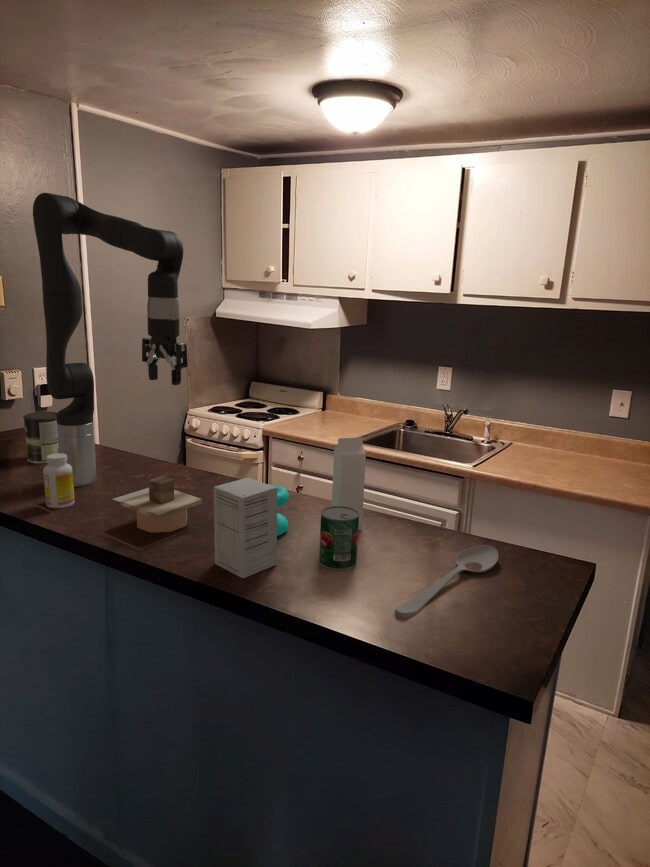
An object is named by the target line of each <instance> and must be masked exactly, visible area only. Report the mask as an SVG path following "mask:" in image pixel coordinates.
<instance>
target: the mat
mask: <svg viewBox="0 0 650 867" xmlns="http://www.w3.org/2000/svg"><path fill="white" fill-rule="evenodd" d="M148 492H149V487H146V488H143V489H140V490H137V491H134V492H130V493H128V494H124V495H121V496H118V497H114V498H112V500H113V501H116V502H119V503H121V501H123V500H126V499H129V498H133V497H136V496H139V495H142V494H145V493H148ZM193 496H194V495H193ZM194 497H196V496H194Z"/></svg>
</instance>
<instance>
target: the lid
mask: <svg viewBox="0 0 650 867" xmlns="http://www.w3.org/2000/svg"><path fill="white" fill-rule="evenodd" d="M148 488H149V492H148V493H145V494H142V495H139V496H136V497H133V498H129V499H126V500H123V501H121V502H120V506H122V507H125V508H128V509H129V510H132V511H135V512H136V511H138V512H140V513H143V514H146V515H148V516H151V517H154V518H157V519H160V518H163V517H166V516H169V515H171V514H174V513H177V512H179V511H182V510H185V509H187V510H188V509H190V508H193V507H196V506H198V505H201V504H203V498H200V497H197V496H195V497H194V495H191V494H188V493H185V492H182V491H179V490H175V479H173V478H170V477H166V476H163V475H161V476H158V477H154V478H152V479H149V480H148Z"/></svg>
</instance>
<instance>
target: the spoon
mask: <svg viewBox="0 0 650 867" xmlns="http://www.w3.org/2000/svg"><path fill="white" fill-rule="evenodd" d="M498 552H499V551H498V550H497V549H496V548H495V547H494V546H491V545H488V544H487V545H486V544H483V545H482V544H481V545H475V546H472V547H468V548H465V549H464V550H462V551H460V552H459V553H458V554H457V555H456V556H455V559H454V562H455V563H456V565H457V566H456V567H455V568H454V569H453V570H451V571H449V572H448V573H447V574H445V575H444V576H443V577H441V578H440V579H439V580H437V581H436V582H435V583H433V584H432V585H430V586H429V587H427V588H426V589H424V590H423V591H422V592H420V593H418V595H416V596H414V597H413V598H412V599H411V598H410V599H409V600H407V601H406V602H404V603H402V604H400V605H398V606H397V607H395V609H394V614H395V616H396V617H399V618H401V619H408V618H410V617H414V616H415V615H417V614H418V613H419V612H420V611H422V609H423V608H424V607H425V606H426V605H427V604H428V603H429V602H430V601H431V600H432V599H433V598H434V597H435V596H436V595H437V594H439V592H440V591H441V590H442V589H444V588H445V586H447V585H448V584H449V583H450V581H451V580H453V578H455V576H457V575H458V574H459V573H461V572H464V571H467V572H470V573H475V574H476V573H485V572H487V571H489V570H491V569H492V568H493V567H494V566H495V565H496V563H497V562H498V560H499V553H498ZM469 563H477V564H479V565H481V568H480V569H479V570H475V569H470V568H468V567H467V566H466V564H469Z"/></svg>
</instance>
